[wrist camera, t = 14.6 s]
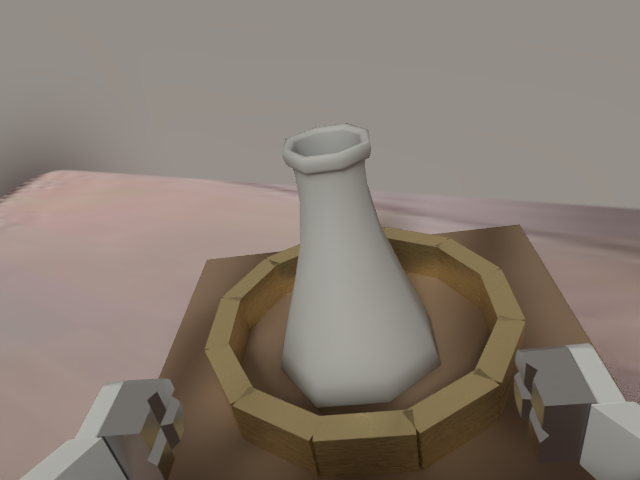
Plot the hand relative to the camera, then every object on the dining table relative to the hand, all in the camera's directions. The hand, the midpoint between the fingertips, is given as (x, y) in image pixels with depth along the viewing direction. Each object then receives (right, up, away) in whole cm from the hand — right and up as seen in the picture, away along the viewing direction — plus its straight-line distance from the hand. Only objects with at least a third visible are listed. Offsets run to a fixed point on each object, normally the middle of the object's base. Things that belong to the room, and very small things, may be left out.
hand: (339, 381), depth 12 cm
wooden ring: (+1, -1, +11) cm, 11 cm away
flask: (+1, -2, +11) cm, 11 cm away
